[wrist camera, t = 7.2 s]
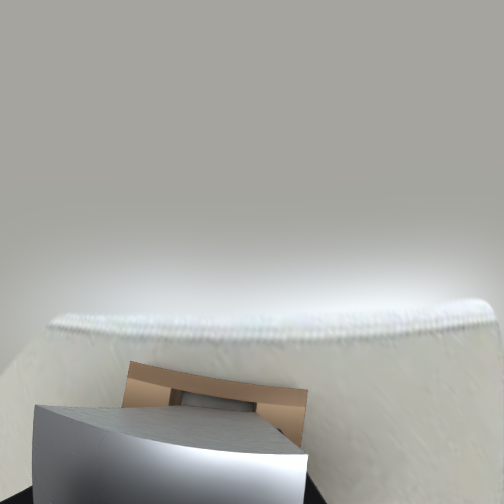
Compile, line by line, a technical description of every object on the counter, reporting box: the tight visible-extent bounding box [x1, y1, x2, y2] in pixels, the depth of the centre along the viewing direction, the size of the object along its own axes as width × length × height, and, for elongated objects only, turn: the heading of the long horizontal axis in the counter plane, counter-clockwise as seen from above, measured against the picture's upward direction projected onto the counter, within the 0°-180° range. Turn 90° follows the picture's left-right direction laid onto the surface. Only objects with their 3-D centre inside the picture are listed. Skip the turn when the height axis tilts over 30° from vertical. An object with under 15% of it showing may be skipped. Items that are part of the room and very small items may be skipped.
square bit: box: [32, 405, 308, 504], centre depth 8 cm, size 4×4×12 cm
